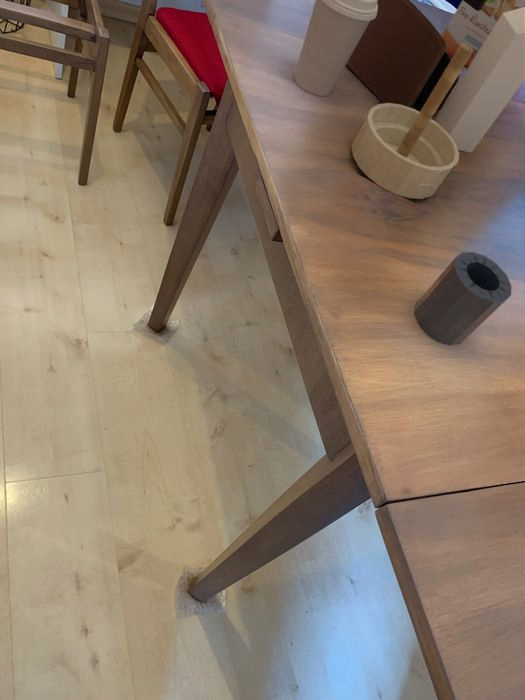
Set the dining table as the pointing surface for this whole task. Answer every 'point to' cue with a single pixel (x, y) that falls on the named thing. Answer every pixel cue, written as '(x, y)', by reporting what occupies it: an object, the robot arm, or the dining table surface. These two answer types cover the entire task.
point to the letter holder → (401, 56)
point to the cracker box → (475, 25)
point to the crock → (462, 298)
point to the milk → (487, 83)
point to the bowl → (394, 169)
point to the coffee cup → (331, 42)
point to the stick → (435, 98)
